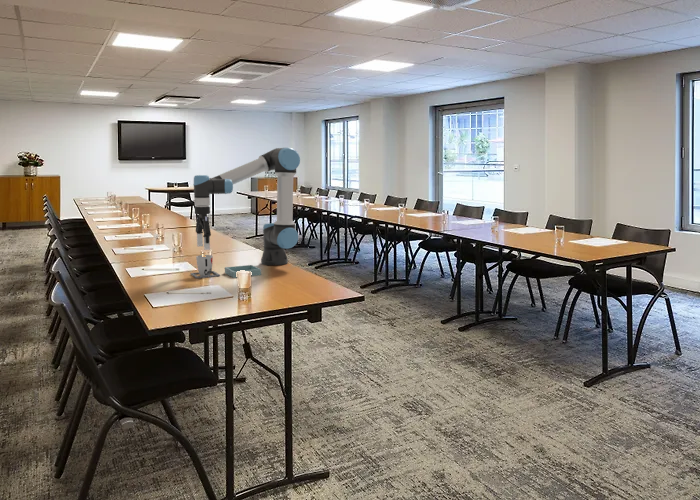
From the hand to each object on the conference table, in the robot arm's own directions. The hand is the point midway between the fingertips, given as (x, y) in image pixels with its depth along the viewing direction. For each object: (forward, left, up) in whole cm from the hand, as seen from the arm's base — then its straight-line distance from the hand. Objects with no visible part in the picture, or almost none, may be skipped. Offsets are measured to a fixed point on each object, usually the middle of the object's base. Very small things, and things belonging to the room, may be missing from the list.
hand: (203, 248), depth 297 cm
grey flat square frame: (0, 0, -14) cm, 14 cm away
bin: (-18, +6, -14) cm, 24 cm away
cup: (0, 0, -14) cm, 14 cm away
